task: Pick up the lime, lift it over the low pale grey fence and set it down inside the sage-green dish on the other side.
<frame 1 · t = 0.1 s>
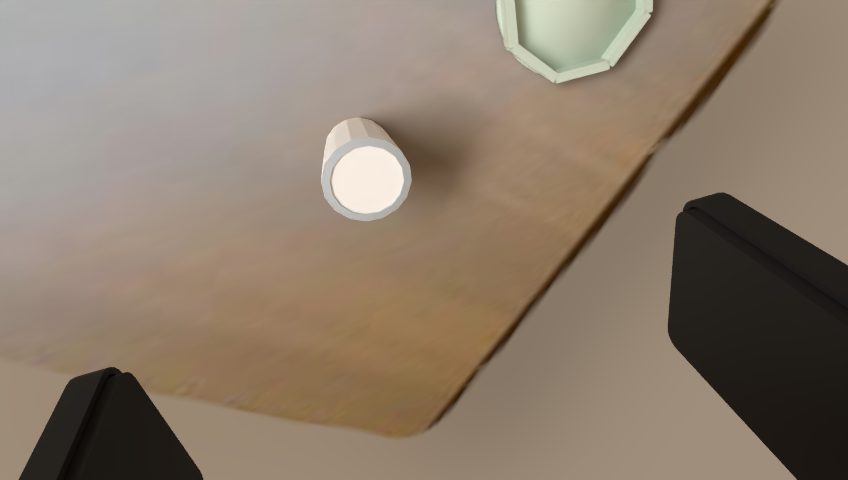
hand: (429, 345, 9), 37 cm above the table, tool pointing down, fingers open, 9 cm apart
white cylinder: (357, 148, 46), on the table
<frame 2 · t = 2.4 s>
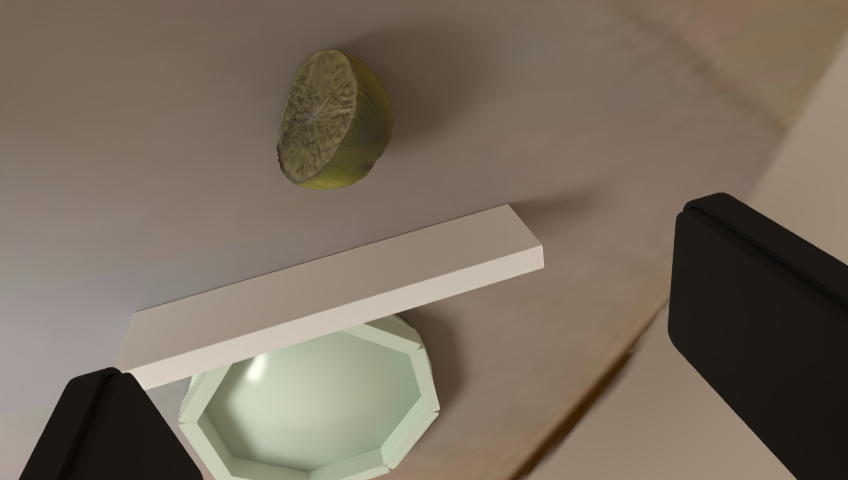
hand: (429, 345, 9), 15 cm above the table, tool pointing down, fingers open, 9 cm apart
fence: (331, 266, 25), on the table
lime: (326, 102, 21), on the table
dish: (316, 391, 29), on the table
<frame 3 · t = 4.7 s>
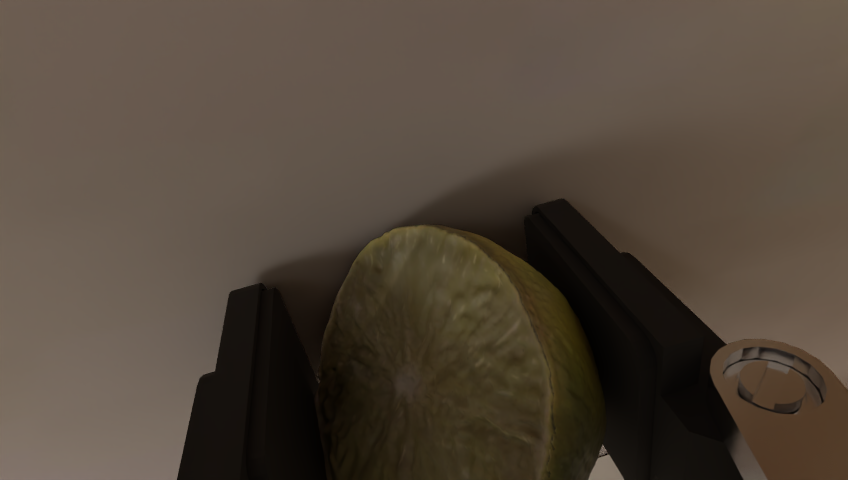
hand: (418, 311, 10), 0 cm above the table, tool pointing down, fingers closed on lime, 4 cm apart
lime: (413, 292, 10), on the table, touching gripper
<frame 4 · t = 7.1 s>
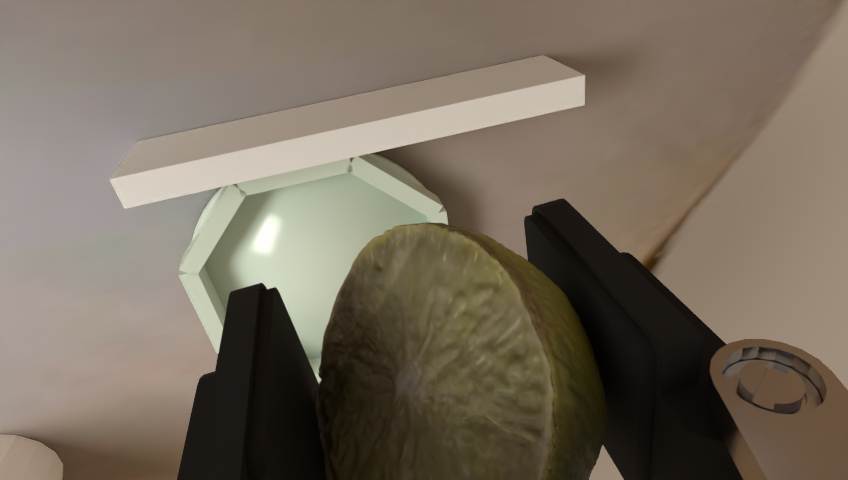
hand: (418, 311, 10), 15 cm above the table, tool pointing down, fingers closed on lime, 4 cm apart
white cylinder: (6, 466, 29), on the table
fence: (351, 109, 23), on the table
lime: (413, 290, 10), point 15 cm above the table, touching gripper
dish: (326, 264, 27), on the table
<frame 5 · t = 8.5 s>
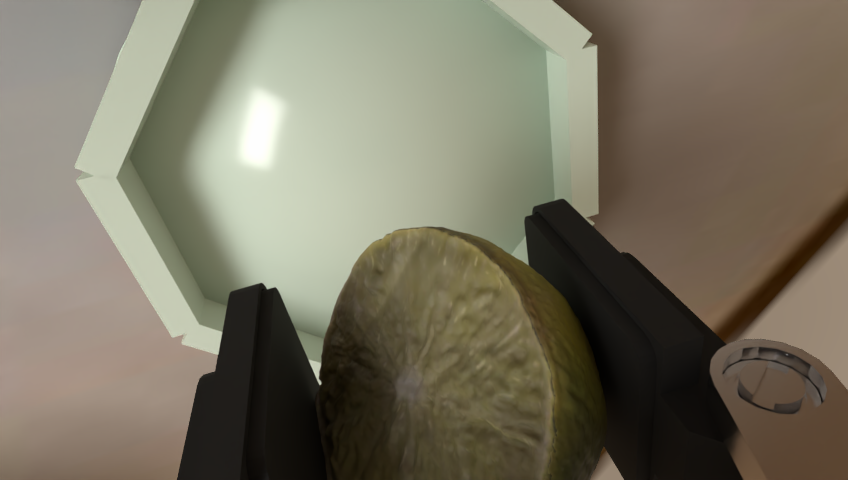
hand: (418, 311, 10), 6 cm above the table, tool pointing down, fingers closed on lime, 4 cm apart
lime: (414, 293, 10), point 6 cm above the table, touching gripper
dish: (364, 172, 15), on the table
when the fingers open (2 cm above the table, at t = 9.6 s): lime drops 1 cm, resting on dish.
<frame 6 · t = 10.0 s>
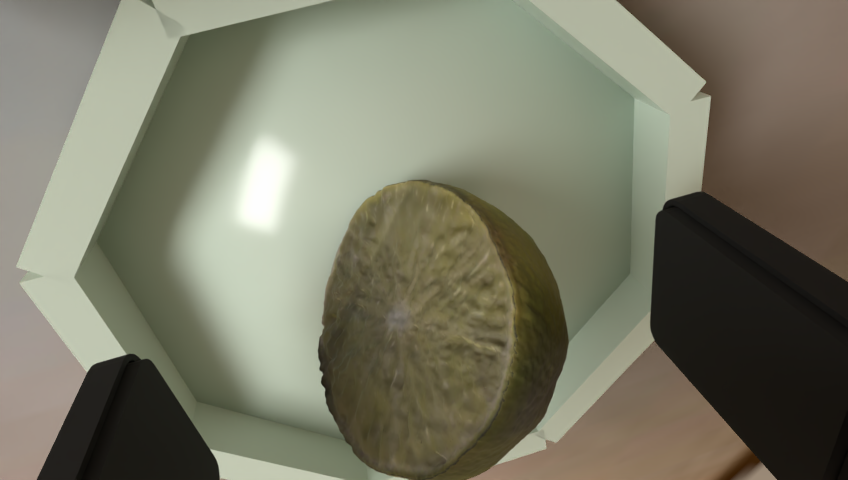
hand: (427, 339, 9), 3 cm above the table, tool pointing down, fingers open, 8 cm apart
lime: (405, 249, 12), resting on dish
dish: (396, 246, 12), on the table
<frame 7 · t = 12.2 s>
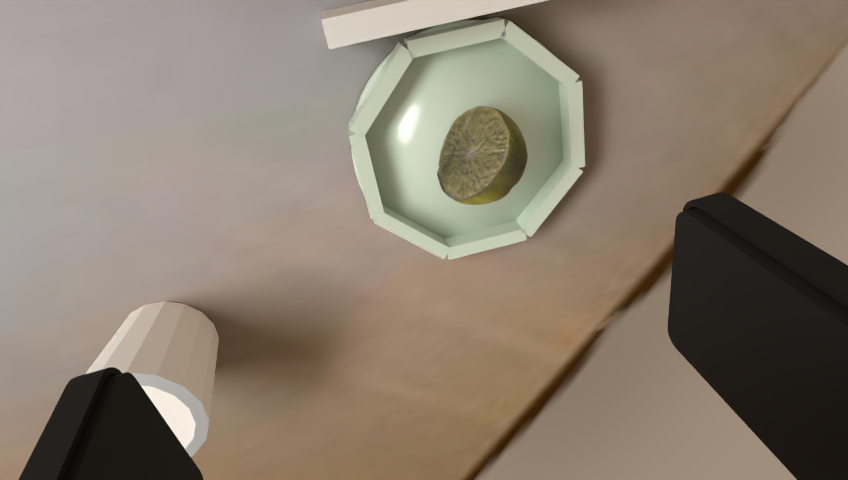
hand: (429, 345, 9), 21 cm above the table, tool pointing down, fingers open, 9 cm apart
white cylinder: (171, 337, 32), on the table
lime: (469, 141, 29), resting on dish
dish: (465, 141, 30), on the table
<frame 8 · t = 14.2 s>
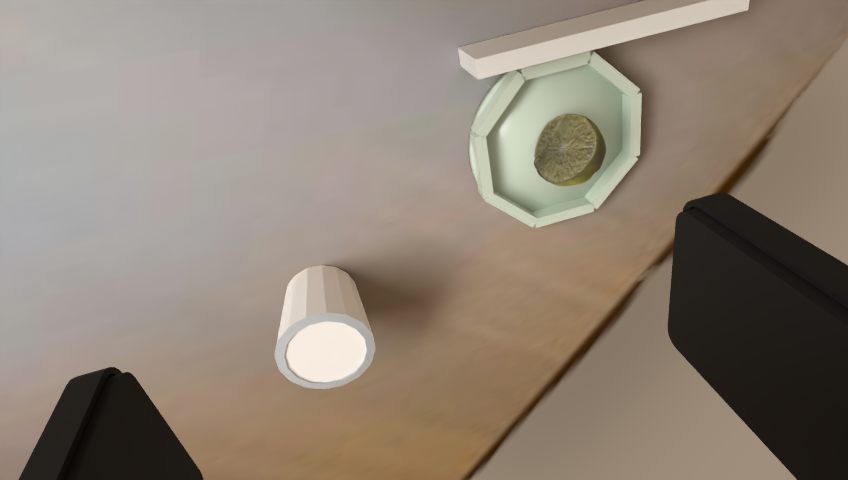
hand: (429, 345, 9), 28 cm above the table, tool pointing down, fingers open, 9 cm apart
white cylinder: (321, 293, 42), on the table
fence: (585, 24, 36), on the table
lime: (554, 138, 39), resting on dish
dish: (550, 138, 39), on the table
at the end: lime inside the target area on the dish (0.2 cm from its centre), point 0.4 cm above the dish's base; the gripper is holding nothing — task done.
